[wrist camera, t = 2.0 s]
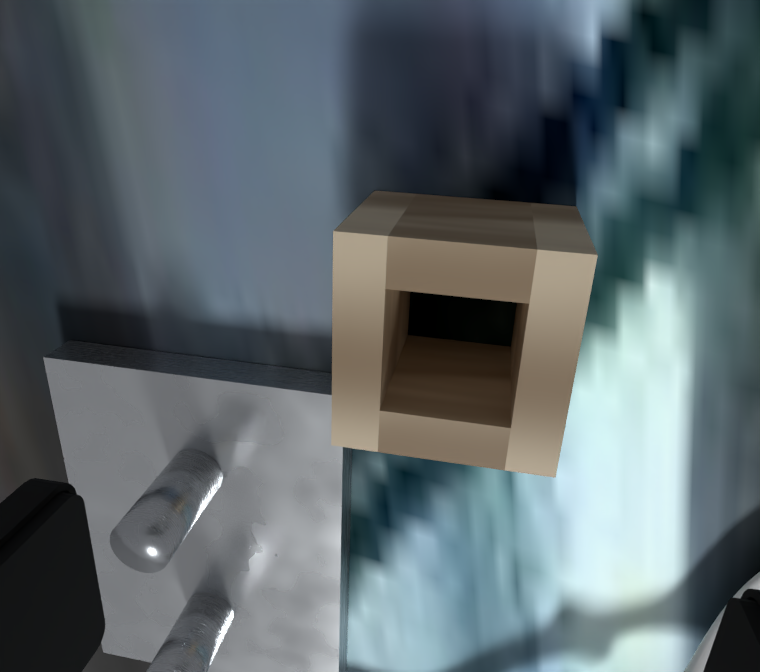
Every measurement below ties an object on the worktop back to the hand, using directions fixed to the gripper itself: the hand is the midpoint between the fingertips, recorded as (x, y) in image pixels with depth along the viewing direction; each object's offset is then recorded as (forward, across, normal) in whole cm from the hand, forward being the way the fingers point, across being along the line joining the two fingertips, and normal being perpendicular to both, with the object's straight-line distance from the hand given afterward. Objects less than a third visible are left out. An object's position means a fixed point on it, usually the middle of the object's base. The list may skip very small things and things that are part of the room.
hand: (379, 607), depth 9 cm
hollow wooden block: (+12, 0, -1) cm, 12 cm away
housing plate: (+13, +8, +10) cm, 18 cm away
